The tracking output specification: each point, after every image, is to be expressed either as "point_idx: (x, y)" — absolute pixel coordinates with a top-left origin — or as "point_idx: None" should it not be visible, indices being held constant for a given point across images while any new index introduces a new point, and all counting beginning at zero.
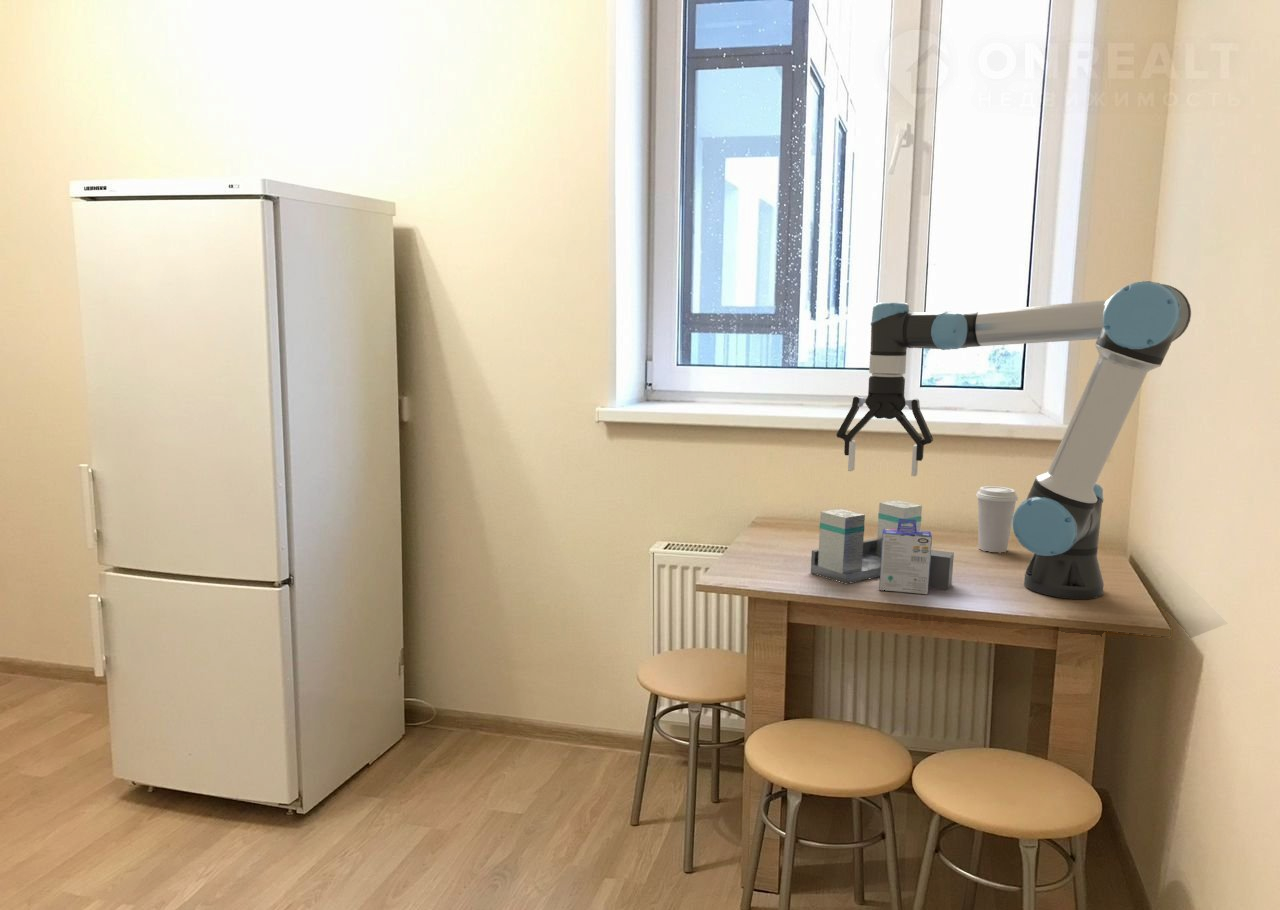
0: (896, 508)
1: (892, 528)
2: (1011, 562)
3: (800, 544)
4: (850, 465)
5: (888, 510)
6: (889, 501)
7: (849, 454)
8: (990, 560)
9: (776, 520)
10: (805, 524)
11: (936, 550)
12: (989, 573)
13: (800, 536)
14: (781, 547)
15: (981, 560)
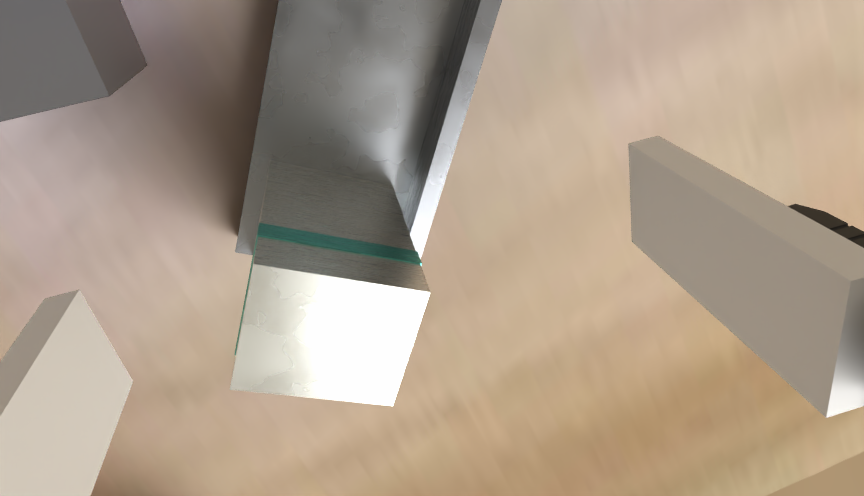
0: (311, 267)
1: (327, 221)
2: None
3: None
4: (668, 156)
5: (364, 267)
6: (403, 353)
7: (756, 194)
8: (130, 460)
9: None
10: (742, 415)
11: (23, 111)
12: None
13: None
14: (737, 126)
15: (149, 442)
